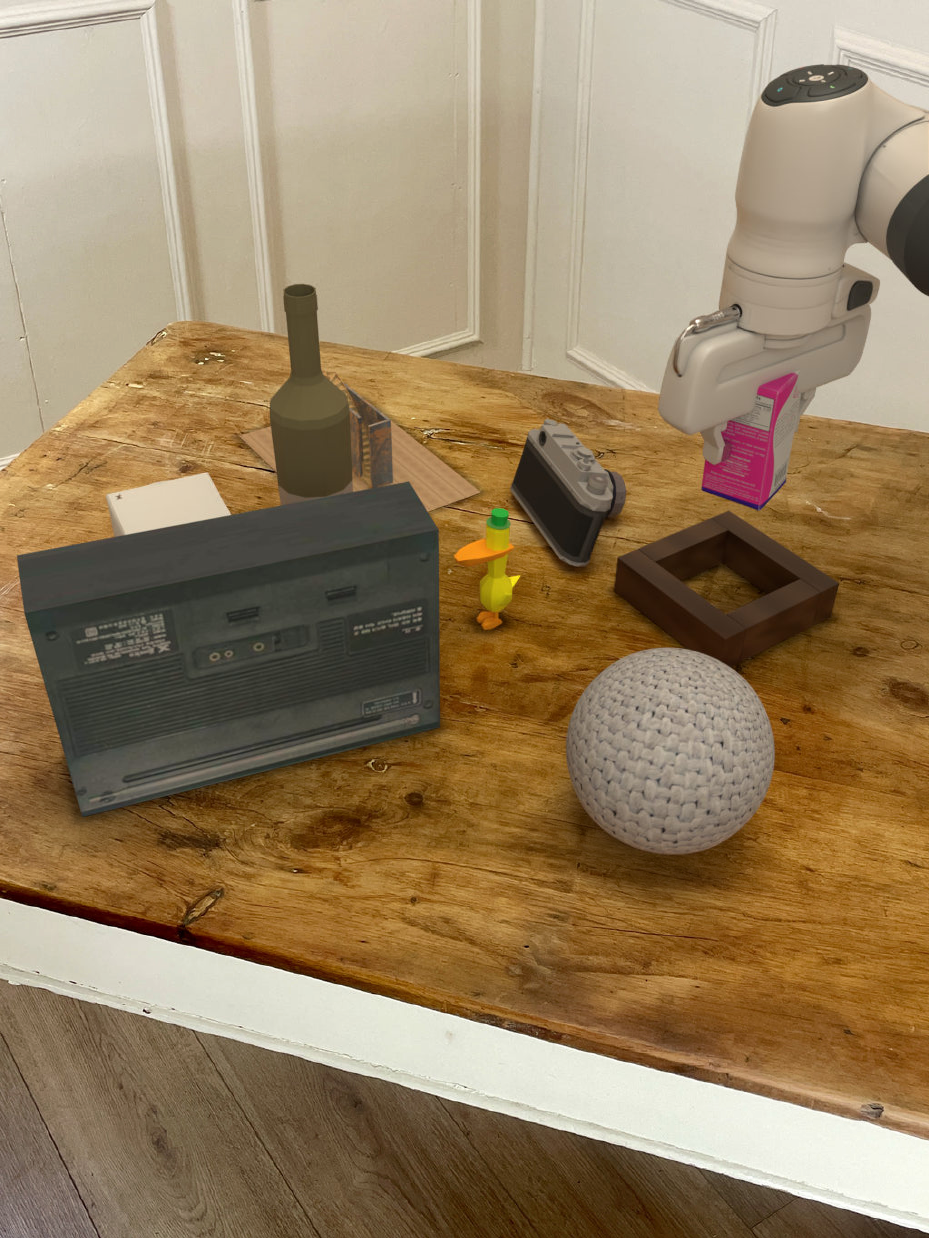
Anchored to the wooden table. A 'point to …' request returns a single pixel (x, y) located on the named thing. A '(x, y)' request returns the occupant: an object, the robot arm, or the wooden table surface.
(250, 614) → the cassette player
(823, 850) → the wooden table surface
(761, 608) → the wooden frame
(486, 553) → the toy figure
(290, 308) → the bottle
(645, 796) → the decorative ball
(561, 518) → the camera
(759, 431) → the supplement box
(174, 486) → the white product box
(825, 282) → the robot arm
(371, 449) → the architectural model on board
